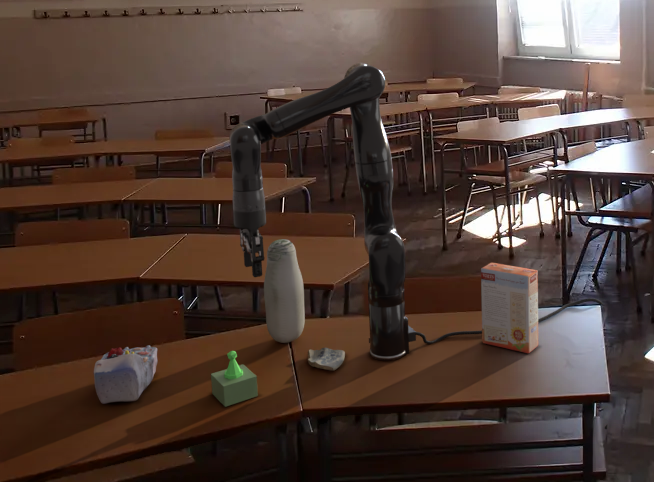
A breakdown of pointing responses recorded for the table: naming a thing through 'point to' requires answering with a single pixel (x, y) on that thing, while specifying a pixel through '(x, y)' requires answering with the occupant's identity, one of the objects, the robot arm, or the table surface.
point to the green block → (234, 386)
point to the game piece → (233, 367)
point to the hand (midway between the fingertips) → (253, 271)
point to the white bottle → (283, 292)
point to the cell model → (124, 373)
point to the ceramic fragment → (326, 358)
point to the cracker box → (509, 307)
